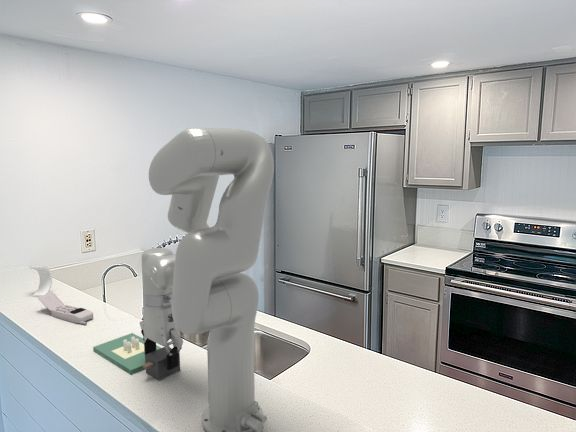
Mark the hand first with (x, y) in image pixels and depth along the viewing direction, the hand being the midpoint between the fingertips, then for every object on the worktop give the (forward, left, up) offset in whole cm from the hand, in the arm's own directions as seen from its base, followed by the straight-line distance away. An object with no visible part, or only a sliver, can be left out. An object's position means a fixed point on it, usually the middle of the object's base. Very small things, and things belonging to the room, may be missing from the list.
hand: (161, 361), depth 108 cm
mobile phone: (+56, 0, -3) cm, 56 cm away
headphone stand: (+86, -4, -3) cm, 86 cm away
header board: (+14, 0, -3) cm, 15 cm away
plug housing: (-1, 0, -3) cm, 3 cm away
